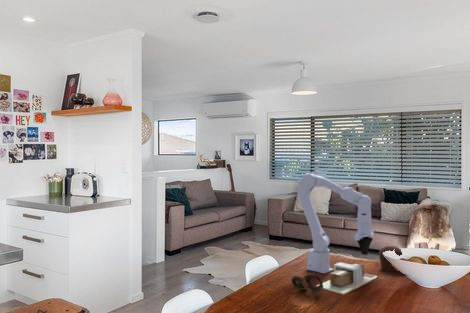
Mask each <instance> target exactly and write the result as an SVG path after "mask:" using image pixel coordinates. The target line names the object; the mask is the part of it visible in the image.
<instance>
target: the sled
mask: <svg viewBox="0 0 470 313" xmlns="http://www.w3.org/2000/svg"><path fill="white" fill-rule="evenodd" d="M351 265H355V266H360V267H362V277H364V273H365V265H362V264H358V263H353V264H351ZM329 280H330V284H331V285H335V286H338V287H343V286H345V285H347V284H349V283H351V282H353V271H351V270H347V269H339V270H337V271H335V272H334V271H331V272H330V273H329Z"/></svg>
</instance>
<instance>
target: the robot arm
mask: <svg viewBox="0 0 470 313" xmlns="http://www.w3.org/2000/svg"><path fill="white" fill-rule="evenodd" d="M315 187H317V188H321V187H324V188H325V189H328V190H330V191H333V192H334V193H336V194H339V195H340V198H341V199H343V200H344V201H347V202H348V203H350V204H352V205H354V206H355V205H356V206H357V214H356V215H357V217H356V218H357V220H356V221H357V232H356V234H355V235H354V236H353V241H356V242H357V244H358V247H359V249H360V253H361V255H363V256H368V253H369V249H370V246H371V244H372V242H373V237H374V236H375V230H372V209H371V206H372V199H371V198H370V196H368V195H367V194H363V192H359V191H357V190H354V188H353V187H352V186H350V187H349V186H345V187H342V186H340V185H339V184H336V183H335V182H333V181H331V180H329V179H327V178H326V177H324V176H322V175H319V174H318V175H317V174H315V173H313V172H311V173H306V174H304V175H303V176H302V177H301V179H300V180H299V187H298V189H297V190H298V192H297V197H298V200H299V202H300V205H301V208H302V210H303V213H304V216H305V218H306V221H307V223H308V226H309V228H310V232H311V239H312V247H313V248H311V249H309V250H308V253H307V267H306V270H308V271H312V272H316V273H321V274H326V273H329V272H333V271H334V268H332V267H330V266H331V265H330V260H331V259H330V248H329V247H328V246H329V245H330V241H331V240H330V238H329V236H328V235H327V234H326V233H325V230H324V229H323V227H322V224H321V222H320V219H319V217H318V214H317V211H316V209H315V206H314V204H313V202H312V199H311V193H312V191H313V190H314V188H315Z"/></svg>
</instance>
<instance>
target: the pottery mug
mask: <svg viewBox="0 0 470 313" xmlns="http://www.w3.org/2000/svg"><path fill="white" fill-rule="evenodd" d="M314 279H316V280H317V281H318V282H319V284H318V285H319V286H317V285H316V286H315V283H312V282H311V281H312V280H314ZM290 281H291V284H292V285H293V287H295V288H296V289H297V291H301V290H303V289H306V293H305V296H306V297H308V298H311V297H312V296H314V295H316V294H319V293H321V292H322V291H323V290H324V289H323V283H324V282H323V278H321V276H319V275H317V274H314V273H306V274H304V275H303V276H302V277H301V276H299V275H294V276H292V277H291V280H290Z"/></svg>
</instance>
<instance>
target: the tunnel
mask: <svg viewBox="0 0 470 313" xmlns="http://www.w3.org/2000/svg"><path fill="white" fill-rule="evenodd" d="M333 269H334V270H333V272H335V271H337V270H339V269H347V270H351V271H353V282H351V283H349V284H347V285H345V286H343V287H338V286H335V285H331V284H330V279H329V280H327V281H324V282H323V289H322V290H325V291H329V292H332V293H336V294H339V295H342V296H344V295H346V294H347V293H350V292H352V291H353V290H356V289H358V288H360V287H362V286H363V285H366V284H368V283H370V282H372V281H373V280H375V279H377V277H378V276H377V275H374V274H370V273H365V272H364V277H362V267H360V266H355V265H352V264H349V263H345V262H337V263H335V264H333ZM378 278H379V277H378ZM319 285H320V284H318V285H316V286H319Z"/></svg>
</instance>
